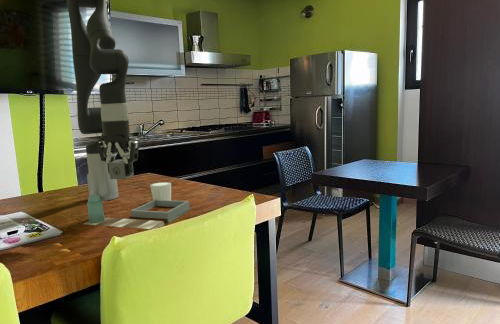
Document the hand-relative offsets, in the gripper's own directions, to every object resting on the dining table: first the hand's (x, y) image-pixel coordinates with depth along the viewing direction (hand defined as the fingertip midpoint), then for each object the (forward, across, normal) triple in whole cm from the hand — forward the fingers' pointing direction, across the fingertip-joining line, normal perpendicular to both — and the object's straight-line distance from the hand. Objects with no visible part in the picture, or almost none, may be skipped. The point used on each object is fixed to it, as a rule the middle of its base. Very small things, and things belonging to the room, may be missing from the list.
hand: (120, 174), depth 113 cm
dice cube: (+1, 0, +1) cm, 1 cm away
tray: (+12, +12, +1) cm, 18 cm away
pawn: (+11, -1, -10) cm, 15 cm away
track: (+12, +8, -10) cm, 18 cm away
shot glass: (+13, +6, +12) cm, 19 cm away
